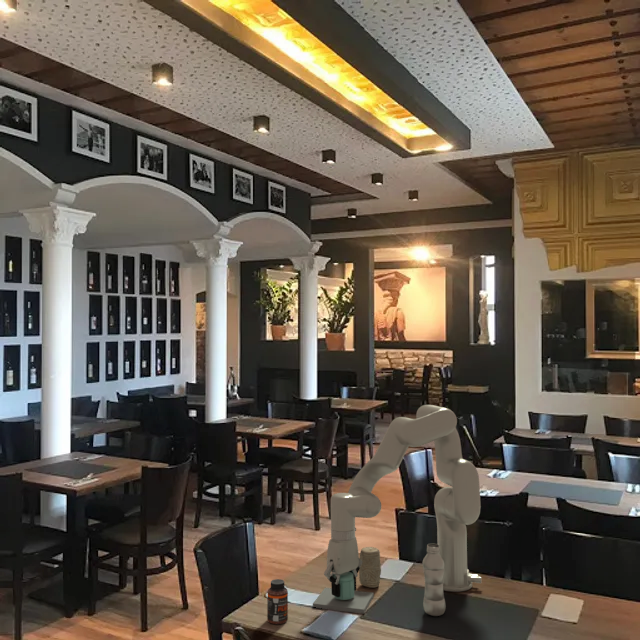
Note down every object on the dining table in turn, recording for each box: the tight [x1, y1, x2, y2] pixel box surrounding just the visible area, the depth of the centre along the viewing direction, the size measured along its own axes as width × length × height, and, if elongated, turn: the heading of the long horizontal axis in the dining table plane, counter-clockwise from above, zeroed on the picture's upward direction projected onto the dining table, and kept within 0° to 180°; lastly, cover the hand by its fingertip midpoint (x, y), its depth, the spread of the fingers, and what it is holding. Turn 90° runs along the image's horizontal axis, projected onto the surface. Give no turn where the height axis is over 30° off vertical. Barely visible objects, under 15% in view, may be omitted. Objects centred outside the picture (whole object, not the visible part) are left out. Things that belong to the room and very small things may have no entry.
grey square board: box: [312, 587, 375, 614], centre depth 197 cm, size 16×13×6 cm
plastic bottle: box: [422, 543, 447, 617], centre depth 188 cm, size 6×7×20 cm
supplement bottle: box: [266, 578, 289, 626], centre depth 185 cm, size 6×6×11 cm
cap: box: [334, 572, 354, 600], centre depth 198 cm, size 6×6×6 cm
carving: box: [358, 546, 382, 588], centre depth 210 cm, size 6×8×12 cm
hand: (344, 592), depth 198 cm, fingers closed on cap, 6 cm apart
